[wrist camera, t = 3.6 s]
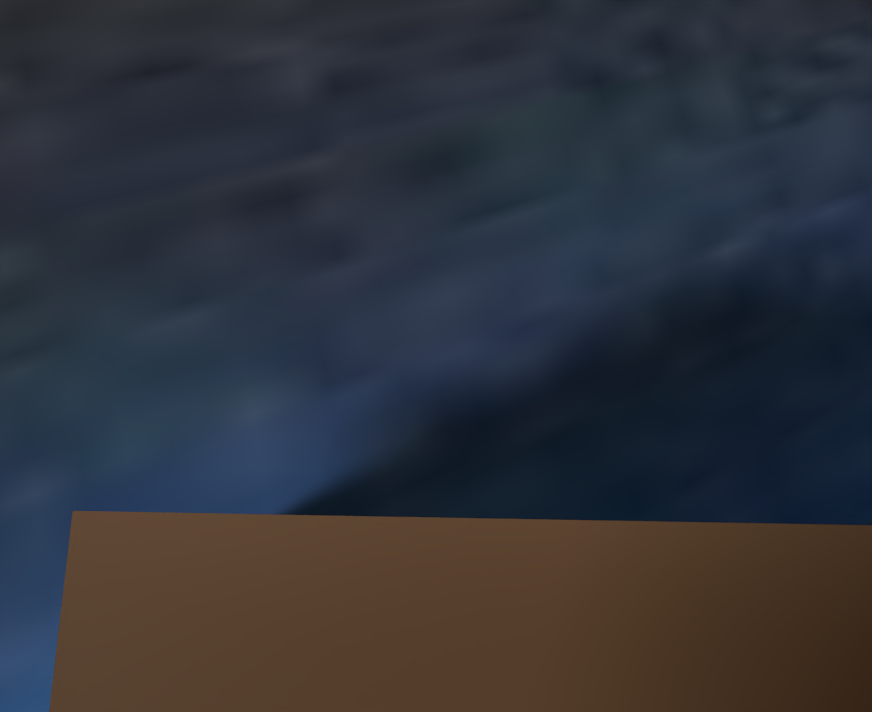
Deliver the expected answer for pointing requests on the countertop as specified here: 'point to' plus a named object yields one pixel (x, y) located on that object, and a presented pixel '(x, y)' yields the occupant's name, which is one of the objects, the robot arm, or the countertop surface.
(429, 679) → the wooden peg
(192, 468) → the countertop surface
